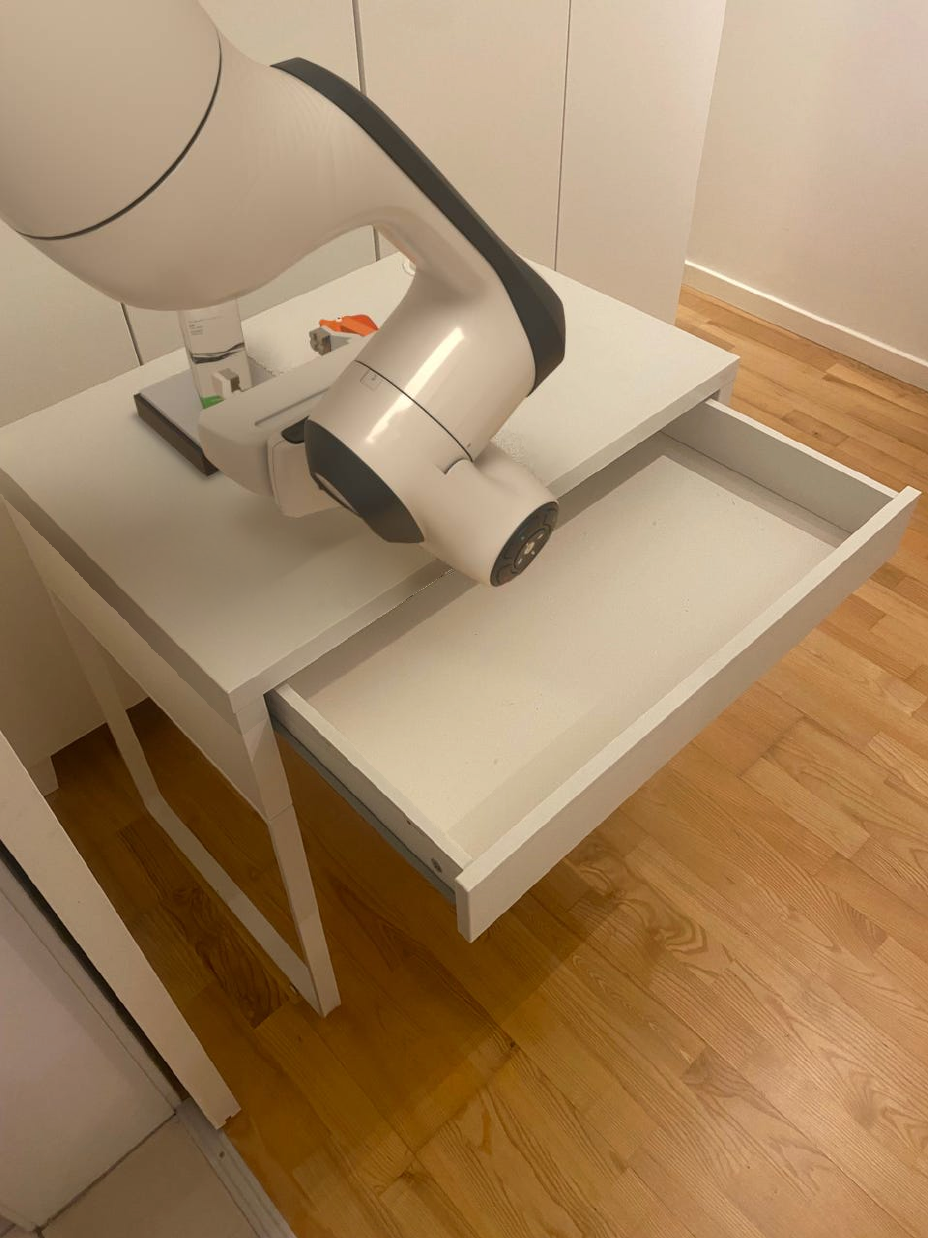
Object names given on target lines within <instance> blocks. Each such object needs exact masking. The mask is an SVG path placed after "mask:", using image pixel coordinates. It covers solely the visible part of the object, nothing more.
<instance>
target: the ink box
mask: <svg viewBox="0 0 928 1238" xmlns="http://www.w3.org/2000/svg"><path fill="white" fill-rule="evenodd" d="M176 315H177V319H178V324H179V327H180V331H181V336H182V340H183V344H184V349H185V352H186V356H187V360H188V365H189V369H191V372H192V376H193V379H194V382H195V385H196V388H197V391H198V394H199V397H200V400H201V403H202V406H203V409H206V408H209V407H211V406H213V405H216V404H218V403H220V402H222V401H224V400H223V398H222V397H220V396H219V395H218V394H217V393H216V392H215V390H214V388H213V383H212V378H211V375H212V374H214V373H216V372H218V371H221V370H223V369H226V368H230V369H231V371H232V372H235V373H236V374H237V375H239V380H240V384H239V386H240V387H241V392H244V391H246V390H248V389H251V388H253V385H252V380H251V374H250V369H249V364H248V359H247V355H248V354H247V349H246V344H245V339H244V333H243V332H244V331H243V328H242V322H241V321H242V320H241V317H240V311H239V306H238V299H235V300H232V301H229V302H226V303H223V304H220V305H216V306H212V307H207V308H202V309H194V310H183V311H176Z"/></svg>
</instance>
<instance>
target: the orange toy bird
mask: <svg viewBox="0 0 928 1238" xmlns="http://www.w3.org/2000/svg"><path fill="white" fill-rule="evenodd" d="M318 324H319V327H321V326H323V325H326V326H327V327H329V328H330V329H332V330H333V331H335V332H344V333H352V334H359V335H361V336H362V337H364V336H366V335H368V334H371V333H373V332H375V331H377V330H378V329H379V328H378V327H379V326H377V324H376V323H375V322H374V321H373V319H372V318H371V317H370V316H369V315H366V314H362V313H361V314H355V315H345V316H342V317H336V318H335V319H333V320H327V319H323V318H322V319H320V320H319V321H318Z"/></svg>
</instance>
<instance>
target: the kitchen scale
mask: <svg viewBox="0 0 928 1238" xmlns="http://www.w3.org/2000/svg"><path fill="white" fill-rule="evenodd" d="M247 359H248V364H249V369H250V374H251V380H252V385H253V387H255V386H257V385H259V384H261V383H264V382H266V381H268V380H270V379H272V378H274V377H277V376H276V375H275V374H273V372H271V371H269V370H267V368H266V367H264V366H262V364H260V363H258V362H257V361H256V360H254V359H253V358H252V357H250V356H249V355H248V354H247ZM132 397H133V401H134V404H135V406H136V410H137V415H138V417H139V418H141V419H142V421H144V422H145V423H146V424H147V425H149V427H151V428H152V429H153V430H154V431H155V432H156V433H157V434H158V435H160V436H161V437H162V438H163V439H164V440H165V441H167V443H169V444H170V445H171V446H172V447H173V448H174V449H176V450H177V451H178V452H179V453H180V454H181V455H182V456H183V457H185V459H187V460H188V461H189V462H190V463H191V464H192V465H194V467H196V468H197V469H198V470H199V471H200V472H201V473H202V474H204V476H206V477H208V476H210V475H212V474H213V473H215V472H218V471H220V470H219V469H218V468H217V467H215V466H214V465H213V464H212V463H211V462H210V461H209V460H208V459H207V458H206V456H205V455H204V452H203V450H202V447H201V444H200V440H199V435H198V430H197V422H198V416H199V413H200V412H201V411H203V410H204V409H203V406H202V403H201V400H200V397H199V394H198V391H197V388H196V385H195V382H194V379H193V376H192V372H191V369H190V368H188V369H185V370H182V371H181V372H178V373H176V374H174V375H171V376H169V377H166V378H164V379H162V380H159V381H157V382H155V383H153V384H149V385H148V386H145V387H143V388H142V389H139V391H138V393H136V394H133V396H132Z"/></svg>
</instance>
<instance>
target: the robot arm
mask: <svg viewBox="0 0 928 1238" xmlns="http://www.w3.org/2000/svg"><path fill="white" fill-rule="evenodd" d="M0 220H1V221H2V222H3V223H5V224H6V225H7V226H8V227H9V228H10V229H11V230H13V232H15V233H16V234H18V236H20V237H21V238H22V239H24V240H25V241H26V242H27V243H28V244H30V245H31V246H32V247H33V248H35V249H36V250H38V251H39V252H40V253H42V255H44V256H46V257H47V258H48V259H49V260H51V261H52V262H54V263H55V264H56V265H58V266H59V267H60V268H63V269H64V270H65V271H67V272H68V273H70V274H71V275H72V276H74V277H75V278H77V279H78V280H80V281H82V282H83V283H85V284H86V285H88V286H90V287H91V288H92V289H95V290H96V291H97V292H99V293H101V294H103V295H104V296H106V297H108V298H110V299H112V300H114V301H115V302H118V303H120V304H123V305H126V306H129V307H133V308H137V309H142V310H150V311H160V312H177V311H183V310H194V309H202V308H207V307H212V306H216V305H220V304H223V303H226V302H229V301H232V300H235V299H237V300H238V299H240V298H243V297H245V296H247V295H250V294H252V293H254V292H256V291H258V290H259V289H261V288H263V287H265V286H266V285H268V284H269V283H271V282H272V281H274V280H275V279H277V278H278V277H280V276H281V275H282V274H284V273H285V272H286V271H288V270H289V269H290V268H292V267H293V266H294V265H296V264H297V263H299V262H300V261H301V260H303V259H304V258H305V257H307V256H309V255H310V254H312V253H314V252H315V251H317V250H318V249H320V248H321V247H324V246H325V245H327V244H329V243H331V242H332V241H334V240H336V239H339V238H340V237H342V236H344V235H346V234H348V233H351V232H353V231H355V230H358V229H360V228H363V227H367V226H372V228H374V229H375V230H376V231H377V232H378V233H379V234H380V235H381V236H383V237H384V238H385V239H386V240H387V241H388V242H389V243H390V244H391V245H392V246H393V247H395V248H396V249H397V250H398V251H399V252H400V253H401V254H402V255H403V256H405V258H407V259H408V260H409V261H410V262H411V263H412V264H413V265H415V271H414V274H413V278H412V280H411V282H410V285H409V287H408V289H407V291H406V293H405V294H404V296H403V298H402V299H401V301H400V302H399V303H398V304H397V305H396V307H395V308H394V309H393V311H392V312H391V313H390V314H389V316H388V317H387V318H386V319H385V320H384V322H383V323H382V325H380V327H379V328H378V330H377V331H375V332H373V333H371V334H368V335H366V336H364V337H362V336H361V335H359V334H352V333H344V332H335V331H333V330H332V329H330V328H329V327H327V326H326V325H323V326H321V327H320V326H319V327H317V328H315V329H312V330H310V331H309V332H308V336H309V338H310V340H309V344H310V347H311V349H312V350H313V351H314V352H316V353H318V355H319V357H316V358H314V359H311V360H310V361H308V362H305V363H303V364H301V365H299V366H296V367H295V368H292V369H290V370H287V371H285V372H284V373H281V374H279V375H277V376H276V377H274V378H272V379H270V380H268V381H266V382H264V383H261V384H259V385H257V386H255V387H253V388H251V389H248V390H246V391H244V392H241V387H240V386H239V384H240V380H239V375H237V374H236V373H235V372H232V371H231V369H230V368H226V369H223V370H221V371H218V372H216V373H214V374H212V375H211V378H212V383H213V388H214V390H215V392H216V393H217V394H218V395H219V396H220V397H222V398H223V400H224V401H222V402H220V403H218V404H216V405H213V406H211V407H209V408H206V409H204V410H203V411H201V412H200V413H199V416H198V422H197V430H198V435H199V440H200V444H201V447H202V450H203V452H204V455H205V456H206V458H207V459H208V460H209V461H210V462H211V463H212V464H213V465H214V466H215V467H217V468H218V469H219V470H218V471H220V472H221V473H222V474H224V475H225V476H227V477H228V478H229V479H230V480H232V481H234V482H235V483H236V484H238V485H239V486H241V487H242V488H244V489H246V490H247V491H249V492H252V493H254V494H257V495H260V496H265V497H267V496H268V497H270V496H271V497H272V496H274V497H273V498H274V500H275V503H276V505H277V508H278V510H279V511H280V512H281V513H282V514H283V515H284V516H287V517H289V518H299V517H304V516H307V515H311V514H315V513H319V512H322V511H326V510H330V509H331V510H332V509H335V508H341V507H343V508H344V509H346V510H348V511H349V512H351V513H352V514H354V515H356V516H357V517H358V518H360V519H362V521H363V522H364V523H365V524H366V525H367V526H368V528H369V529H371V530H372V532H373V533H375V535H377V536H378V537H380V538H381V539H382V540H383V541H385V542H387V543H393V544H394V543H395V544H417V545H419V546H420V547H421V548H422V549H424V550H425V551H426V552H428V553H429V554H431V555H432V556H433V557H435V558H437V559H438V560H440V561H441V562H443V563H444V564H446V565H448V566H449V567H450V568H452V569H454V570H455V571H458V572H459V573H461V574H463V575H465V576H466V577H467V578H470V579H472V580H474V581H476V582H478V583H480V584H482V585H484V586H487V587H488V588H489V587H490V588H498V587H501V586H503V585H506V584H507V583H510V582H511V581H513V580H514V579H515V578H517V577H518V576H520V575H521V574H522V573H523V572H524V571H525V570H526V569H527V568H528V567H529V566H530V564H531V563H532V562H533V561H534V560H535V558H536V557H537V556H539V554H540V552H541V551H542V550H543V549H544V547H545V546H546V544H547V543H548V542H549V541H550V539H551V536H552V533H553V532H554V530H555V528H556V527H557V522H558V516H559V512H560V511H559V510H560V505H559V501H558V499H557V497H556V496H555V495H554V494H553V493H552V491H550V490H549V488H547V487H546V486H545V485H544V484H543V483H542V482H541V481H540V480H539V479H538V477H536V476H535V475H534V474H533V473H531V471H530V470H528V469H527V468H526V467H525V466H524V465H523V464H521V463H520V462H519V461H518V460H517V459H515V458H514V457H513V456H512V455H510V454H509V452H506V450H504V449H503V448H502V447H500V446H499V445H498V444H496V443H495V442H493V441H492V439H493V438H494V437H495V436H496V435H497V433H498V432H499V431H500V430H501V429H502V427H504V425H505V424H506V423H507V422H508V420H509V419H510V417H511V416H512V415H513V414H514V413H515V411H516V410H517V409H518V408H519V406H520V405H521V404H522V403H523V401H524V400H526V399H527V398H529V397H530V396H531V395H532V394H533V393H534V391H536V390H537V389H538V388H539V387H540V385H541V384H542V383H544V381H545V380H546V379H547V378H548V377H549V376H550V375H551V374H552V373H553V372H554V371H555V370H556V369H557V368H558V367H559V366H560V365H561V364H562V363H563V361H564V360H565V356H566V342H567V341H566V340H567V339H566V337H567V332H566V331H567V329H566V327H567V326H566V315H565V308H564V304H563V301H562V299H561V298H560V297H559V295H558V294H557V292H556V291H555V290H554V289H553V287H552V286H551V284H549V281H548V280H547V279H545V277H544V276H543V275H542V274H541V273H540V272H539V271H538V270H537V269H536V268H535V267H534V266H532V265H531V264H530V263H529V262H527V260H525V259H524V258H523V257H521V256H520V255H518V254H517V253H516V252H515V251H514V250H513V249H512V248H511V247H509V245H508V244H507V243H505V242H504V241H503V240H502V238H501V237H500V236H499V235H498V234H497V233H496V232H495V231H494V230H493V229H492V227H491V226H490V225H488V223H487V222H486V220H484V218H483V217H481V215H480V214H479V213H478V212H477V211H476V210H475V209H474V207H472V205H471V204H470V203H469V202H468V201H467V200H466V199H465V197H464V196H463V195H462V194H461V193H460V192H459V191H458V190H457V188H456V187H455V186H454V185H453V184H452V183H451V182H450V180H449V179H448V178H447V177H446V176H445V175H444V173H442V172H441V170H440V169H439V168H438V167H437V166H436V165H435V164H434V163H433V161H432V160H431V159H430V158H429V157H428V156H427V155H426V154H425V153H424V152H423V151H422V150H421V149H420V148H419V147H418V146H417V144H416V143H415V142H414V141H413V140H412V139H411V138H410V137H409V136H408V135H407V134H406V133H405V132H404V131H403V130H402V129H401V128H400V127H399V126H398V125H397V123H395V121H393V120H392V119H391V118H390V117H389V115H388V114H387V113H386V112H384V111H383V110H382V109H381V108H380V107H379V106H378V105H377V104H376V103H375V102H374V101H372V100H371V99H370V98H369V97H368V96H367V95H365V94H364V93H363V92H362V91H360V90H359V89H358V88H357V87H355V86H354V85H353V84H352V83H350V82H349V81H347V80H346V79H344V78H343V77H341V76H339V75H338V74H336V73H334V72H333V71H331V70H329V69H328V68H326V67H323V66H321V65H320V64H317V63H314V62H312V61H310V60H308V59H306V58H303V57H299V56H296V57H292V58H290V59H285V60H283V61H279V62H276V63H272V64H269V65H265V64H263V63H260V62H258V61H256V60H254V59H252V58H250V57H249V56H248V55H246V54H244V53H243V52H242V51H241V50H239V48H237V47H236V46H235V45H234V44H233V43H232V42H231V41H230V40H229V39H228V38H227V37H226V36H225V34H223V33H222V31H221V30H220V29H219V28H218V26H217V25H216V24H215V22H214V21H213V19H212V18H211V16H210V15H209V14H208V12H207V11H206V9H205V8H204V7H203V6H202V4H201V3H200V2H199V1H198V0H0Z"/></svg>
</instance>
